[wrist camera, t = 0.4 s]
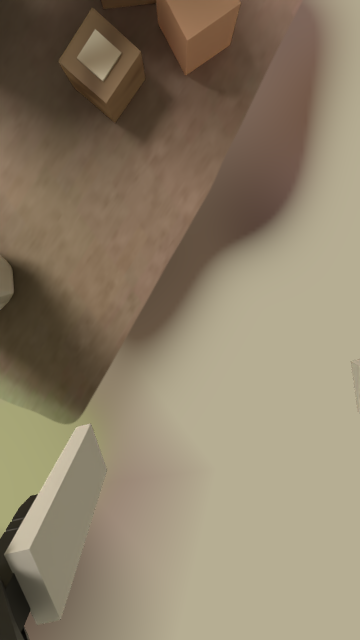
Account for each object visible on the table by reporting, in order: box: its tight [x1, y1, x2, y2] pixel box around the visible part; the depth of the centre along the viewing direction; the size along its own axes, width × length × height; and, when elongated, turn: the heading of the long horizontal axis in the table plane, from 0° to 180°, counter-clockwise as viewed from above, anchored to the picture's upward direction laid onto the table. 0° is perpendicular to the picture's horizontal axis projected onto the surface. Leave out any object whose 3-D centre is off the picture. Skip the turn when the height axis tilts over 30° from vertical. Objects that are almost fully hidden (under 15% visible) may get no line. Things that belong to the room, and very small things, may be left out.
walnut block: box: [58, 7, 146, 123], centre depth 33 cm, size 6×6×5 cm
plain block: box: [156, 0, 241, 76], centre depth 32 cm, size 6×6×6 cm
